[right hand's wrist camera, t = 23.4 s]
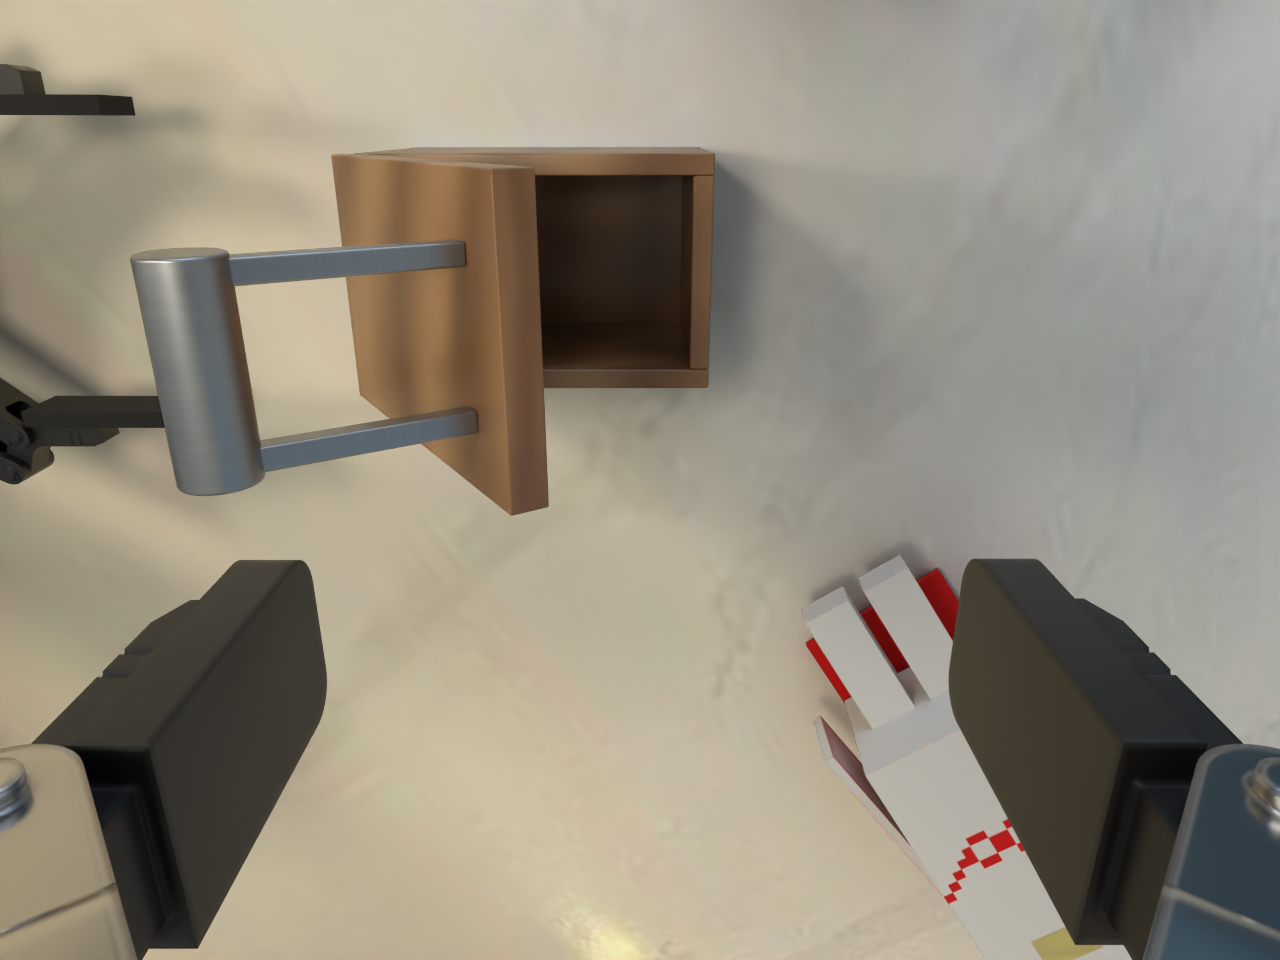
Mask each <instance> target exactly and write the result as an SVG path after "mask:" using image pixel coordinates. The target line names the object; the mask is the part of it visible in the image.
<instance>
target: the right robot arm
mask: <svg viewBox="0 0 1280 960" xmlns="http://www.w3.org/2000/svg"><path fill="white" fill-rule="evenodd" d="M948 682H949V696H950V702H951V707H952V711H953V714H954V717H955V720H956V722H957V724H958V726H959V728H960V730H961V732H962V734H963V735H964V737H965V739H966V741H967V743H968V745H969V747H970V749H971V750H972V752H973V754H974V756H975V758H976V760H977V762H978V764H979V765H980V767H981V769H982V771H983V773H984V775H985V777H986V779H987V781H988V782H989V784H990V786H991V788H992V790H993V792H994V794H995V796H996V797H997V799H998V801H999V803H1000V805H1001V807H1002V809H1003V811H1004V812H1005V814H1006V816H1007V818H1008V820H1009V822H1010V824H1011V826H1012V827H1013V829H1014V831H1015V833H1016V835H1017V837H1018V839H1019V841H1020V843H1021V844H1022V846H1023V848H1024V850H1025V852H1026V854H1027V856H1028V858H1029V859H1030V861H1031V863H1032V865H1033V867H1034V869H1035V871H1036V873H1037V874H1038V876H1039V878H1040V880H1041V882H1042V884H1043V886H1044V888H1045V889H1046V891H1047V893H1048V895H1049V897H1050V899H1051V901H1052V903H1053V905H1054V906H1055V908H1056V910H1057V912H1058V914H1059V916H1060V918H1061V920H1062V921H1063V923H1064V925H1065V927H1066V929H1067V931H1068V933H1069V935H1070V936H1071V938H1072V940H1073V942H1074V944H1075V945H1124V947H1125V948H1126V950H1127V952H1128V953H1129V955H1130V957H1131V959H1132V960H1280V749H1277V748H1272V747H1267V746H1260V745H1252V744H1243V743H1242V742H1241V741H1240V740H1239V739H1238V738H1237V737H1236V736H1235V735H1234V734H1233V733H1232V732H1231V731H1230V730H1229V729H1228V728H1227V727H1226V726H1225V725H1224V724H1223V723H1222V722H1221V721H1220V720H1219V719H1218V718H1217V717H1216V715H1215V714H1214V713H1213V712H1212V711H1211V710H1210V709H1209V708H1208V707H1207V706H1206V705H1205V704H1204V703H1203V702H1202V701H1201V700H1200V699H1199V698H1198V697H1197V696H1196V695H1195V694H1194V693H1193V692H1192V691H1191V690H1190V689H1189V688H1188V687H1187V686H1186V685H1185V684H1184V683H1183V682H1182V681H1181V680H1180V679H1179V678H1178V677H1177V676H1176V675H1171V673H1170V668H1169V667H1168V666H1167V665H1166V664H1165V663H1164V662H1163V661H1162V660H1161V659H1160V658H1159V657H1158V656H1157V655H1156V654H1155V653H1149V647H1148V646H1147V645H1146V644H1145V643H1144V642H1143V641H1142V640H1141V639H1140V638H1139V637H1138V636H1137V635H1136V634H1135V633H1134V632H1133V631H1132V630H1131V629H1130V628H1129V627H1128V626H1127V625H1126V624H1125V623H1124V621H1122V620H1120V619H1119V618H1117V617H1115V616H1113V615H1112V614H1110V613H1108V612H1106V611H1105V610H1103V609H1101V608H1099V607H1097V606H1096V605H1094V604H1092V603H1090V602H1089V601H1087V600H1085V599H1075V598H1074V597H1073V596H1072V595H1071V594H1070V593H1069V592H1068V591H1067V590H1066V589H1065V588H1064V587H1063V585H1062V584H1061V583H1060V582H1059V581H1058V580H1057V579H1056V578H1055V577H1054V576H1053V575H1052V574H1051V572H1050V571H1049V570H1048V569H1047V568H1046V567H1045V566H1044V565H1043V564H1042V563H1041V562H1040V561H1039V560H1037V559H972V560H971V561H970V562H969V563H968V564H967V566H966V568H965V571H964V574H963V579H962V585H961V591H960V598H959V605H958V612H957V618H956V625H955V632H954V639H953V645H952V652H951V659H950V666H949V678H948ZM326 690H327V673H326V665H325V659H324V652H323V645H322V639H321V632H320V626H319V619H318V612H317V606H316V599H315V592H314V586H313V580H312V576H311V572H310V570H309V567H308V566H307V564H306V563H305V562H304V561H302V560H239V561H237V562H235V563H234V564H233V565H232V566H231V567H230V568H229V569H228V570H227V571H226V572H225V573H224V574H223V575H222V576H221V578H220V579H219V580H218V581H217V582H216V583H215V584H214V585H213V586H212V587H211V588H210V589H209V590H208V591H207V593H206V594H205V595H204V596H203V597H202V598H201V599H200V600H190V601H188V602H187V603H185V604H183V605H181V606H180V607H178V608H176V609H174V610H172V611H171V612H169V613H167V614H165V615H164V616H162V617H160V618H158V619H157V620H155V621H153V622H151V623H150V624H149V625H148V626H147V627H146V628H145V629H144V630H143V631H142V632H141V633H140V634H139V635H138V636H137V637H136V638H135V639H134V640H133V641H132V642H131V643H130V644H129V645H128V646H127V647H126V648H125V654H124V655H119V656H118V657H117V658H116V659H115V660H114V661H113V662H112V663H111V664H110V665H109V666H108V667H107V668H106V669H105V670H104V671H103V676H102V677H97V678H96V679H95V680H94V681H93V682H92V683H91V684H90V685H89V686H88V687H87V688H86V689H85V690H84V691H83V692H82V693H81V694H80V695H79V696H78V697H77V698H76V699H75V700H74V701H73V702H72V703H71V704H70V705H69V706H68V707H67V708H66V709H65V710H64V711H63V712H62V713H61V714H60V715H59V716H58V717H57V718H56V719H55V720H54V721H53V722H52V723H51V724H50V725H49V726H48V727H47V728H46V729H45V730H44V731H43V732H42V733H41V734H40V736H39V737H38V738H37V739H36V740H35V741H34V742H33V743H32V744H28V745H20V746H13V747H8V748H3V749H0V960H142V959H143V957H144V956H145V954H146V952H147V951H148V949H198V947H199V945H200V943H201V941H202V940H203V938H204V936H205V934H206V932H207V930H208V929H209V927H210V925H211V923H212V921H213V919H214V917H215V916H216V914H217V912H218V910H219V908H220V906H221V904H222V903H223V901H224V899H225V897H226V895H227V893H228V891H229V890H230V888H231V886H232V884H233V882H234V880H235V878H236V877H237V875H238V873H239V871H240V869H241V867H242V865H243V864H244V862H245V860H246V858H247V856H248V854H249V852H250V851H251V849H252V847H253V845H254V843H255V841H256V839H257V838H258V836H259V834H260V832H261V830H262V828H263V826H264V825H265V823H266V821H267V819H268V817H269V815H270V813H271V812H272V810H273V808H274V806H275V804H276V802H277V800H278V799H279V797H280V795H281V793H282V791H283V789H284V787H285V786H286V784H287V782H288V780H289V778H290V776H291V774H292V773H293V771H294V769H295V767H296V765H297V763H298V761H299V760H300V758H301V756H302V754H303V752H304V750H305V748H306V747H307V745H308V743H309V741H310V739H311V737H312V735H313V734H314V732H315V730H316V728H317V726H318V724H319V722H320V720H321V717H322V714H323V710H324V705H325V699H326Z"/></svg>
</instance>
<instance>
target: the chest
mask: <svg viewBox="0 0 1280 960" xmlns="http://www.w3.org/2000/svg"><path fill="white" fill-rule="evenodd" d="M356 154H370V155H383V156H396V157H408V158H421V159H434V160H447V161H460V162H473V163H486V164H498V165H511V166H524V167H533V168H534V169H535V191H536V215H537V239H538V263H539V287H540V311H541V335H542V359H543V383H544V388H707V387H708V377H709V371H708V368H709V342H710V306H711V270H712V234H713V199H714V176H712V175H714V165H715V154H714V153H711V152H708V151H705V150H702V149H700V148H698V147H580V148H410V149H399V150H388V151H377V152H367V153H356Z"/></svg>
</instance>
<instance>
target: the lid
mask: <svg viewBox="0 0 1280 960" xmlns="http://www.w3.org/2000/svg"><path fill="white" fill-rule="evenodd" d="M332 165H333V173H334V181H335V190H336V198H337V206H338V215H339V223H340V231H341V240H342V247H334V248H319V249H304V250H289V251H274V252H260V253H245V254H230V255H229V253H228V251H226V250H223V249H218V248H173V249H161V250H152V251H145V252H140V253H137V254H134V255H132V256H131V258H130V260H131V265H132V270H133V275H134V280H135V285H136V290H137V294H138V299H139V304H140V309H141V314H142V319H143V324H144V329H145V333H146V338H147V343H148V348H149V353H150V358H151V363H152V368H153V372H154V377H155V382H156V387H157V392H158V397H159V402H160V406H161V411H162V416H163V421H164V426H165V431H166V436H167V441H168V445H169V450H170V455H171V460H172V465H173V470H174V475H175V479H176V484H177V487H178V489H179V490H180V491H181V492H183V493H186V494H189V495H196V496H214V495H223V494H229V493H234V492H238V491H241V490H244V489H247V488H250V487H252V486H254V485H256V484H258V483H259V482H261V481H262V480H263V479H264V476H265V472H268V471H273V470H279V469H284V468H290V467H295V466H301V465H306V464H311V463H317V462H322V461H328V460H333V459H339V458H344V457H350V456H355V455H360V454H366V453H371V452H377V451H382V450H388V449H393V448H398V447H404V446H409V445H415V444H420V443H421V444H422V445H423V446H425V447H426V448H427V449H428V450H430V451H431V452H432V453H433V454H435V455H436V456H437V457H438V458H440V459H441V460H442V461H443V462H445V463H446V464H447V465H448V466H450V467H451V468H452V469H453V470H455V471H456V472H457V473H458V474H460V475H461V476H462V477H463V478H465V479H466V480H467V481H468V482H470V483H471V484H472V485H473V486H475V487H476V488H477V489H478V490H480V491H481V492H482V493H483V494H485V495H486V496H487V497H488V498H490V499H491V500H492V501H493V502H495V503H496V504H497V505H498V506H500V507H501V508H502V509H503V510H505V511H506V512H507V513H508V514H510V515H516V514H521V513H525V512H529V511H533V510H537V509H542V508H546V507H548V506H549V503H548V479H547V455H546V431H545V407H544V383H543V359H542V335H541V311H540V287H539V263H538V239H537V215H536V191H535V169H534V168H533V167H524V166H511V165H498V164H486V163H473V162H460V161H447V160H434V159H421V158H408V157H396V156H383V155H370V154H333V155H332ZM338 277H346V281H347V290H348V298H349V307H350V315H351V323H352V332H353V340H354V348H355V357H356V365H357V373H358V382H359V390H360V395H361V396H362V397H363V398H365V399H366V400H367V401H368V402H370V403H371V404H372V405H373V406H375V407H376V408H377V409H378V410H380V411H381V412H382V413H383V414H385V415H386V416H387V417H388V418H390V419H387V420H381V421H375V422H369V423H363V424H357V425H351V426H345V427H339V428H333V429H327V430H321V431H315V432H309V433H303V434H297V435H291V436H285V437H279V438H273V439H267V440H261V441H260V438H259V431H258V425H257V419H256V413H255V407H254V401H253V395H252V389H251V383H250V377H249V371H248V365H247V359H246V353H245V347H244V341H243V335H242V329H241V323H240V317H239V311H238V305H237V298H236V292H235V286H242V285H254V284H266V283H278V282H290V281H302V280H314V279H326V278H338Z"/></svg>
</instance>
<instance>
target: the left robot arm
mask: <svg viewBox="0 0 1280 960" xmlns="http://www.w3.org/2000/svg"><path fill="white" fill-rule="evenodd" d="M0 115H135V111H134V106H133V101H132V97H125V96H109V95H46V94H45V90H44V85H43V81H42V76H41V72H40V71H37V70H35V69H32V68H30V67H27V66H17V65H7V64H0ZM164 427H165V426H164V421H163V416H162V411H161V406H160V402H159V397H158V396H55V397H52V398H50V399H48V400H46V401H44V402H41V403H39V404H38V403H37V402H35V401H34V400H32V399H31V398H29V397H28V396H26V395H25V394H23V393H22V392H21V391H19V390H18V389H16V388H15V387H13V386H12V385H10V384H9V383H7V382H6V381H4V380H3V379H1V378H0V480H2V481H4V482H7V483H9V484H19V483H21V482H22V481H24V480H26V479H28V478H29V477H31V476H33V475H35V474H36V473H38V472H40V471H42V470H43V469H45V468H47V467H48V466H50V465H52V464H53V462H54V455H53V452H52V451H51V450H50V447H51V446H96V445H98V444H101V443H103V442H105V441H107V440H109V439H110V438H112V437H114V436H115V435H117V434H119V429H118V428H164Z"/></svg>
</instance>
